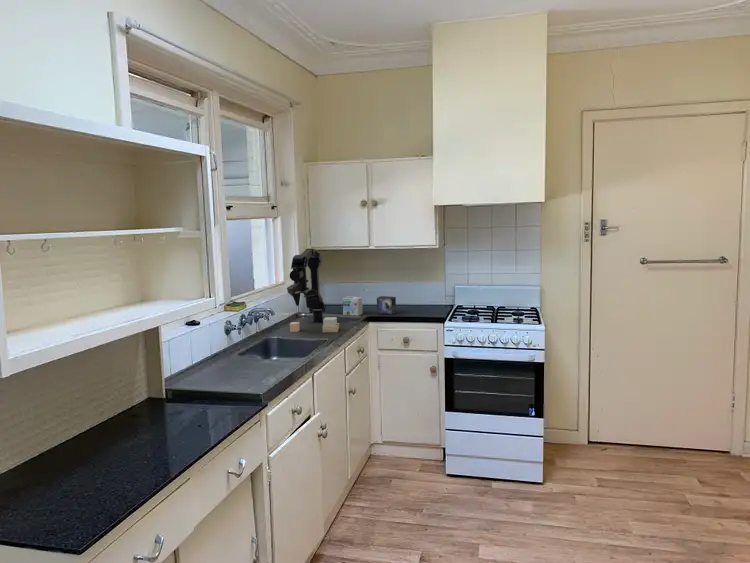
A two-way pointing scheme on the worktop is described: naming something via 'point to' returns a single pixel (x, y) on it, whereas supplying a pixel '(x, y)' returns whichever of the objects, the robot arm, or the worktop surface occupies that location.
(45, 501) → the worktop surface
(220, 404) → the worktop surface
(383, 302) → the small box
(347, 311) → the light bulb box
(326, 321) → the tower top
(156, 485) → the worktop surface
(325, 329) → the tower base
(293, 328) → the terracotta cube
